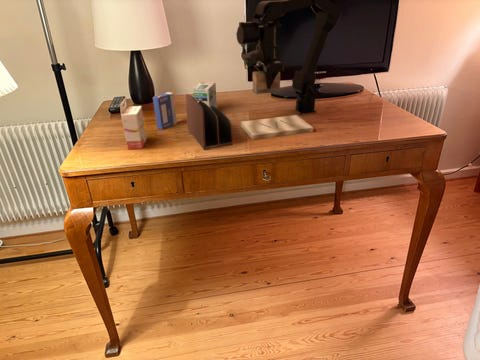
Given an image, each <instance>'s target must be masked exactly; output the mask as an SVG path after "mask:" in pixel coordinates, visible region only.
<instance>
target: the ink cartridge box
mask: <svg viewBox="0 0 480 360" xmlns="http://www.w3.org/2000/svg"><path fill="white" fill-rule="evenodd" d="M119 107H120V109H119V110H120V116H121V123H122V127H123V133H124V135H125V136H124V137H125V142H126V146H127V150H141V149H144V145H145V144H146V141H147V134H146V129H145V128H146V127H145V123H144V115H143V110H142V105H133V106H132V105H131V106H128V103H127V97H125V98H124V99H123V100H122V102H121V103H120V104H119Z"/></svg>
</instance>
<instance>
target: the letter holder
mask: <svg viewBox="0 0 480 360" xmlns="http://www.w3.org/2000/svg"><path fill="white" fill-rule="evenodd" d="M185 103H186V107H185V108H186V109H185V110H186V120H187V130H188V132H189V133H190V134H191V135H192V136H193V138H194V139H195V140H196V142H197V143H198V144H199V146H200V147H201V148H202V150H204V151H207V150H212V149H217V148H223V147H230V146H233V145H234V138H233V137H234V136H233V125H232V122H231V120H230V119H229V117H228V116H227V115H226V114H225V113H224V112H223V111H221V110H220V109H219V108H218V107H217V108H216V107H215V106H211V108H210V107H209V106H208V105H207V104H206V103H204V102H202V101H199V103H198V102H197V101H196V99H195V98H194V97H193V96H192V95H191V94H188V93H187V94H185Z"/></svg>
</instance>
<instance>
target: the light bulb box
mask: <svg viewBox="0 0 480 360" xmlns="http://www.w3.org/2000/svg"><path fill="white" fill-rule="evenodd" d="M216 89H217V87H216V82H208V81H207V82H203V81H200V82H199V83H197V84H196V85H195V86H194V87H192V94H193V96H192V97H193V98H195V99H196V101H197V102H198V103H199V101H202V102H204V103H206V104H207V105H208V106H209V107H210V108H211V106H215V107H216V108H218V104H217V90H216Z"/></svg>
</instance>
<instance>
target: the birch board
mask: <svg viewBox="0 0 480 360" xmlns="http://www.w3.org/2000/svg"><path fill="white" fill-rule="evenodd" d="M240 126H241V128H242V129H243V130H244V131H245V132H246V133H247V135H248V136H249V137H250V138H251V140H258V139H259V140H262V139H267V138H268V139H269V138H273V137H275V138H276V137H282V136H291V135H296V134H304V133H313V132H314V127H313V126H312V125H311V124H310V123H308V122H307V121H306V120H304V119H303V118H302V117H300V116H299V115H297V114H294V115H293V114H292V115H285V116H284V115H283V116H278V117H277V116H276V117H269V118H260V119H253V120H252V119H251V120H245V121H244V120H243V121H240Z"/></svg>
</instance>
